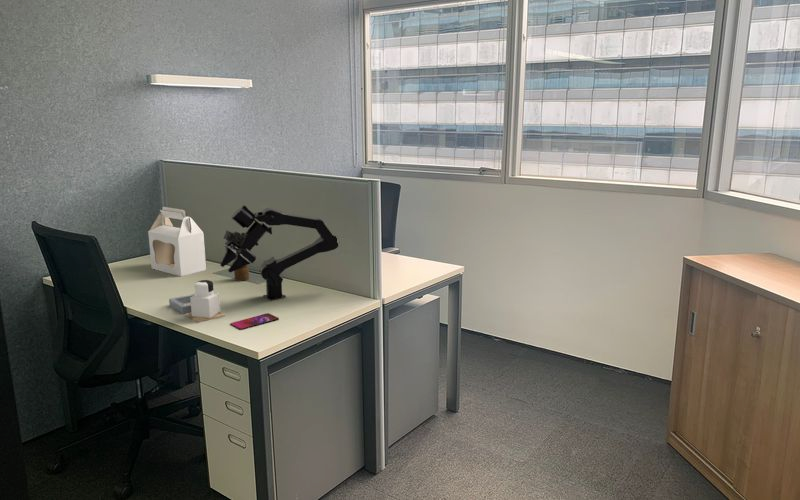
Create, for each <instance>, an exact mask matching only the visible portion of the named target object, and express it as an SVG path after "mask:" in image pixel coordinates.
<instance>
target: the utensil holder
mask: <svg viewBox="0 0 800 500" xmlns="http://www.w3.org/2000/svg"><path fill="white" fill-rule="evenodd" d="M248 266H249V264H248V265H245V266H243V267H241V268H239V269H237V270H235V271H233V272H234V273H233V274H234V280H235V281H238V282H245V281H248V280H250V272H249V271H250V270H249V269H250V268H249V267H248Z"/></svg>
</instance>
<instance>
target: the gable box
mask: <svg viewBox="0 0 800 500" xmlns="http://www.w3.org/2000/svg"><path fill="white" fill-rule="evenodd" d="M159 211H160V212H159V214H157V216H156V218H155V219H154V222H153V224H152V225H151V226H150V228H149V230H148V231H147V233H148V244H149V254H150V255H149V256H150V264H151V265H150V266H151V269H152V270H154V269H155V271H158V270H159V272H163V273H166V274H171V275H174V276H178V277H184V276H188V275H193V274H197V273H199V272H204V271H207V265H206V261H207V260H206V250H205V236H204V231H203V230H202V229H201V228H200V226H198V224H197V222H195V221H194V219H193V218H192V217H190V216H187V211H186V210H185V209H183V208H182V209H181V208H176V207H170V206H162V209H159ZM170 218H171V219H176V220H181V225H180V227H177V226H174V225H173V223H172V222H171V219H170Z"/></svg>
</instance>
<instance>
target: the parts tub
mask: <svg viewBox="0 0 800 500" xmlns="http://www.w3.org/2000/svg"><path fill="white" fill-rule="evenodd" d="M194 295H196V294H195V293H192V294H186V295H182V296H177V297H176V296H175V297H172V298H171V297H170V298H168V303H169V306H170V307H171V308H173V309H175V310H177V311H178V312H179V313H181V314H182V315H186V314H188V313H191V301H190V297H192V296H194ZM189 303H190V304H189Z"/></svg>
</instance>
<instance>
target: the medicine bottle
mask: <svg viewBox="0 0 800 500" xmlns="http://www.w3.org/2000/svg"><path fill="white" fill-rule="evenodd" d="M194 294H196V295H194V296H192V297H190V301H191V302H190V304H191V312H190V313H191V314H192V317H202V318H211V317H212V316H214V315H216V314H217V313H219V312H221V303H220V302H221V301H220V293H219V292H214V282H213V281H212V280H209V279H204V280H198V281H196V282H195V283H194Z"/></svg>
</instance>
